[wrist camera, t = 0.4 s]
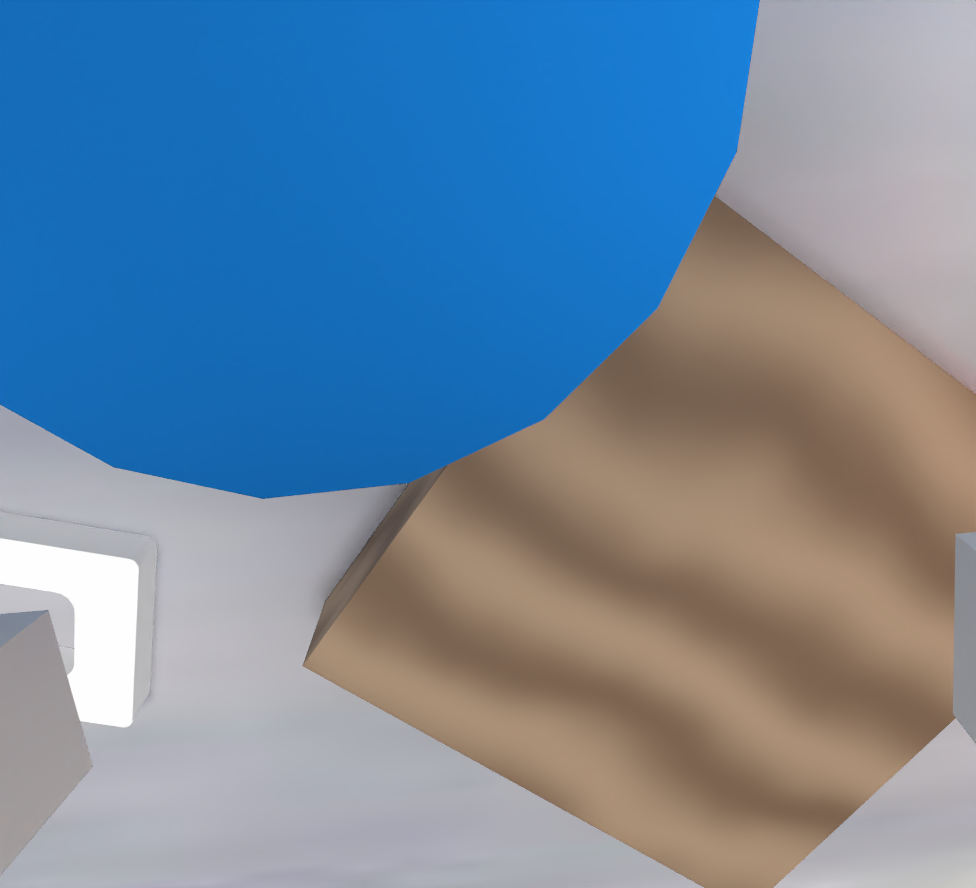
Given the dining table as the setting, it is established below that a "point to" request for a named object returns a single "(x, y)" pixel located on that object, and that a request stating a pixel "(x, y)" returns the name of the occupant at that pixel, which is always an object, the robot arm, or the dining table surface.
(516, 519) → the walnut riser
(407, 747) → the dining table surface
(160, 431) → the thermos
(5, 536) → the holder
